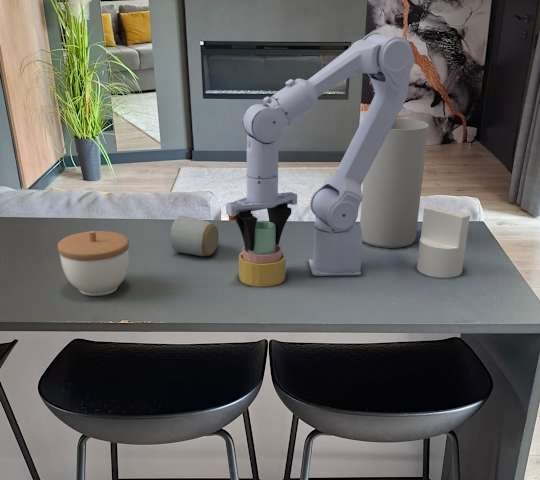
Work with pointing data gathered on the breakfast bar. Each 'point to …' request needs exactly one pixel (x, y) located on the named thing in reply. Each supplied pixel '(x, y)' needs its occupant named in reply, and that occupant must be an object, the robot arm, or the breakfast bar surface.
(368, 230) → the cylinder vase
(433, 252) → the base with upright slab
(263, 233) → the mint cup
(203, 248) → the ceramic mug
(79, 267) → the lidded bowl
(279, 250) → the stack top
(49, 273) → the breakfast bar surface
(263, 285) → the stack bottom
